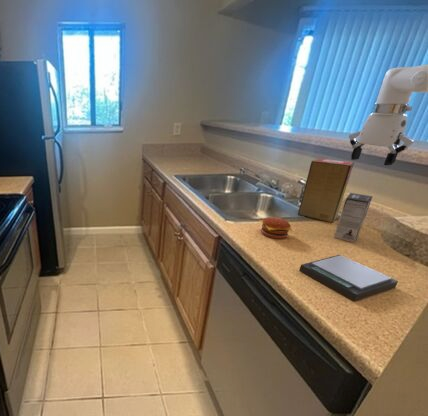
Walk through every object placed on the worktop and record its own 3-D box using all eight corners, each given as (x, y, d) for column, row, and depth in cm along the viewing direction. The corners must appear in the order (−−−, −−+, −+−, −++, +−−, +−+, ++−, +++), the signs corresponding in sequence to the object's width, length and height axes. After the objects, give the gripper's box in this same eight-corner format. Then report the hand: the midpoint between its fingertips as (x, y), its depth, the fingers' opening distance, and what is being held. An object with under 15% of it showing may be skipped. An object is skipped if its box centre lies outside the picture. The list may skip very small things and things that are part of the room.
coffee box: (337, 230, 110) (350, 192, 104) (358, 235, 106) (373, 196, 100) (333, 237, 104) (346, 197, 99) (355, 243, 100) (370, 201, 94)
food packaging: (337, 217, 122) (355, 161, 113) (333, 223, 116) (351, 165, 108) (302, 209, 132) (316, 157, 123) (296, 214, 126) (310, 160, 117)
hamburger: (293, 239, 103) (297, 223, 101) (266, 239, 104) (270, 223, 102) (280, 228, 112) (283, 214, 110) (255, 228, 113) (258, 213, 110)
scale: (395, 287, 76) (399, 279, 75) (354, 301, 71) (357, 292, 70) (337, 260, 89) (339, 253, 88) (299, 270, 84) (301, 262, 83)
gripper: (432, 110, 82) (409, 166, 89) (365, 108, 97) (349, 156, 104) (417, 111, 80) (395, 168, 86) (351, 109, 95) (336, 158, 102)
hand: (370, 162), depth 95 cm, fingers open, 9 cm apart
